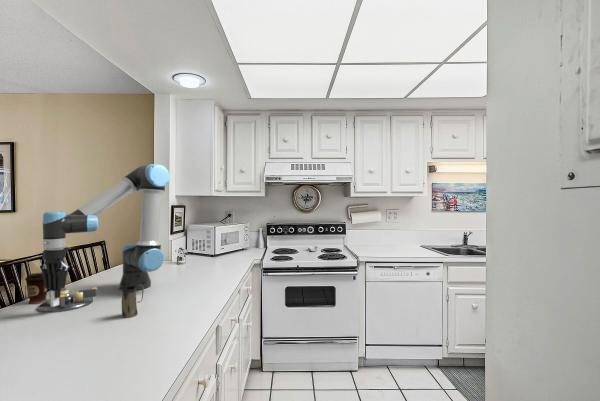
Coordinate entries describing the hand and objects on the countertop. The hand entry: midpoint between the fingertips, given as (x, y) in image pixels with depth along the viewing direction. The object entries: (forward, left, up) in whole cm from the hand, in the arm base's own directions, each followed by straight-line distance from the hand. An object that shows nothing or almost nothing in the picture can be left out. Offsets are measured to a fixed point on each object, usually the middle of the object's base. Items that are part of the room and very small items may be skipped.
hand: (55, 305), depth 135 cm
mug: (-32, +14, -3) cm, 34 cm away
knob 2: (+3, -17, -2) cm, 17 cm away
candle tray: (-1, -10, -3) cm, 11 cm away
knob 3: (-8, -10, -2) cm, 13 cm away
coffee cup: (+14, -19, -3) cm, 24 cm away
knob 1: (0, -4, -2) cm, 5 cm away
